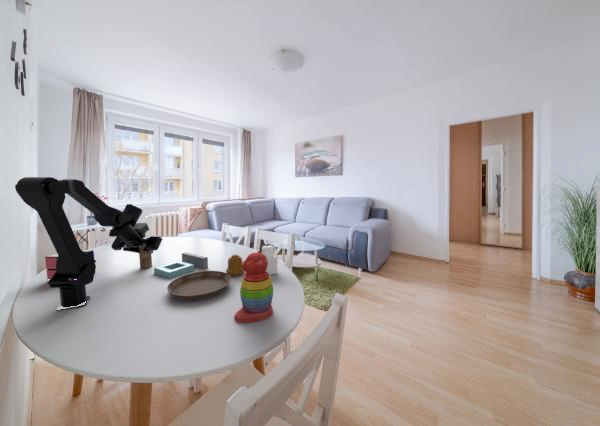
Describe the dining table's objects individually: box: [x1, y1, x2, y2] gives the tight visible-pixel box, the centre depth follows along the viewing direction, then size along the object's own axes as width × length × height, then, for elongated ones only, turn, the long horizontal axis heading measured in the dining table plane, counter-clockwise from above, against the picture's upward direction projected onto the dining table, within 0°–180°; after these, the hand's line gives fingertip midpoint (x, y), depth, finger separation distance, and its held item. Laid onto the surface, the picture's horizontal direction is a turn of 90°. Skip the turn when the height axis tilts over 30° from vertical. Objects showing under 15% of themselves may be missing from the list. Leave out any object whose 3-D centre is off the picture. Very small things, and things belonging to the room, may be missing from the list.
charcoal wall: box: [181, 251, 209, 270], centre depth 106 cm, size 2×16×5 cm, turn 60°
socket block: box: [153, 260, 195, 280], centre depth 98 cm, size 11×11×2 cm
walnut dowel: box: [138, 245, 153, 270], centre depth 103 cm, size 4×4×11 cm
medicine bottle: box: [259, 243, 278, 276], centre depth 98 cm, size 7×7×12 cm
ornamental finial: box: [225, 253, 245, 277], centre depth 97 cm, size 8×8×8 cm
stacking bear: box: [234, 250, 274, 323], centre depth 65 cm, size 11×10×18 cm
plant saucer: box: [166, 270, 232, 301], centre depth 81 cm, size 21×21×3 cm
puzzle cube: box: [44, 249, 95, 280], centre depth 92 cm, size 10×10×10 cm
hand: (147, 252), depth 104 cm, fingers closed on walnut dowel, 4 cm apart
